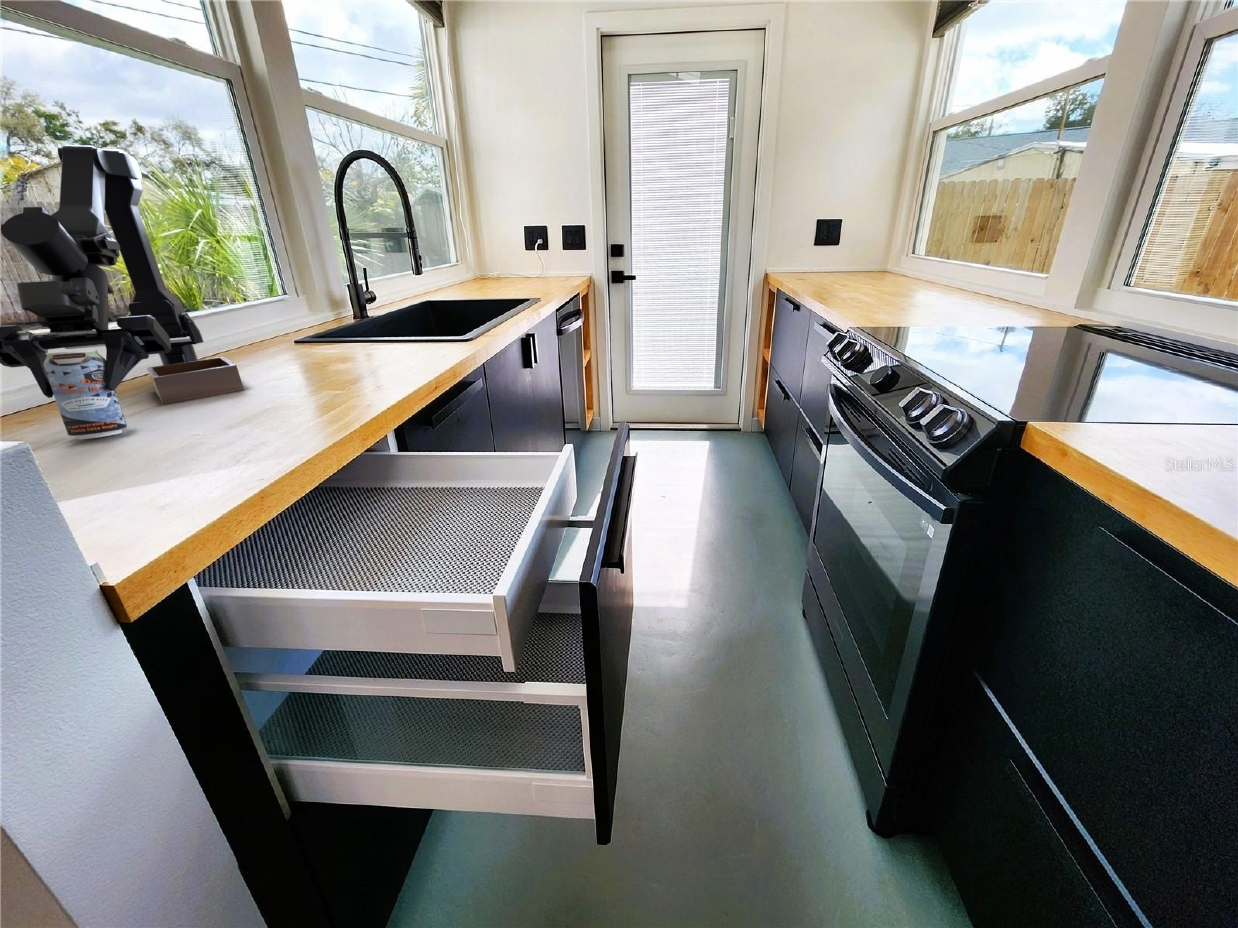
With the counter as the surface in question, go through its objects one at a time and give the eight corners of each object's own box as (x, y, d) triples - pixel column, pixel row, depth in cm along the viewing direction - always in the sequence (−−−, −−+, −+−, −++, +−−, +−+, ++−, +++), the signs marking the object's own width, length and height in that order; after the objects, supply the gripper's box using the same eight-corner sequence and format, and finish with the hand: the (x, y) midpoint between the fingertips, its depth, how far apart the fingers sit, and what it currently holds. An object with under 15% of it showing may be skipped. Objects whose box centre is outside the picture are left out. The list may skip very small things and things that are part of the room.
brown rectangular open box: (155, 392, 97) (146, 367, 95) (231, 379, 104) (223, 356, 102) (163, 404, 89) (153, 378, 87) (244, 389, 96) (236, 365, 94)
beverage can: (64, 448, 71) (21, 358, 66) (84, 432, 77) (46, 348, 72) (125, 439, 73) (87, 351, 68) (139, 424, 79) (106, 343, 74)
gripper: (-58, 261, 65) (-70, 367, 61) (131, 253, 72) (133, 349, 67) (9, 318, 75) (3, 414, 70) (170, 307, 82) (175, 394, 77)
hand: (79, 392), depth 71 cm, fingers open, 6 cm apart
